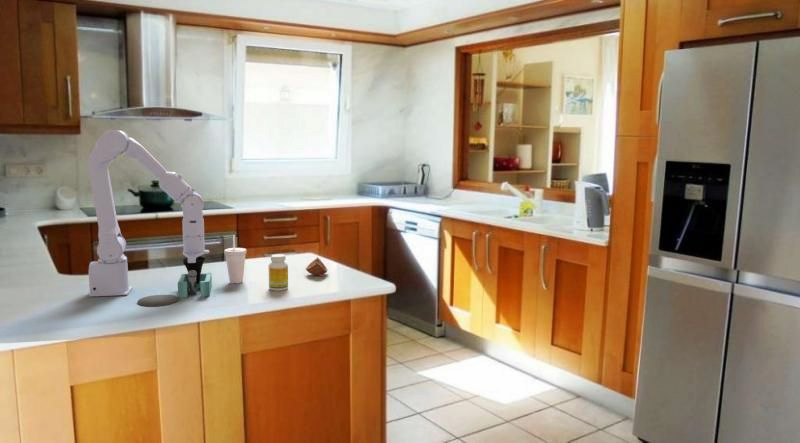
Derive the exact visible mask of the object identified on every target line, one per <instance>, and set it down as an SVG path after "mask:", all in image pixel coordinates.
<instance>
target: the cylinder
mask: <svg viewBox="0 0 800 443" xmlns="http://www.w3.org/2000/svg"><path fill="white" fill-rule="evenodd" d="M187 274H188V278H189V289H188V294H189V295H191V296H194V295H195V296H196V295H197V293H198V292H197V289H198V288H197V285H196V276H197V272H196V271H195V270H190V271H189V272H188V271H187Z"/></svg>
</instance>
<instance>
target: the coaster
mask: <svg viewBox="0 0 800 443" xmlns="http://www.w3.org/2000/svg"><path fill="white" fill-rule="evenodd" d="M179 300H180V299H179V298H178V296H176V295H173V294H154V295H149V296H145V297H141V298H139V299H138V300H137V305H139V306H141V307H163V306H168V305H172V304H175V303H177V302H179Z"/></svg>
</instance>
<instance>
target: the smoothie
mask: <svg viewBox="0 0 800 443" xmlns="http://www.w3.org/2000/svg"><path fill="white" fill-rule="evenodd" d="M223 251H224V255H225V260H226V268H227V272H228V279H229V280H228V281H229V283H230V284H234V283H236V284H241V282H242V283H243V282H244V272H245V263H246V255H247V248H244V247H236V235H235V234H232V247H230V248H226V249H224V250H223Z"/></svg>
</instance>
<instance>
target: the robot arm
mask: <svg viewBox="0 0 800 443" xmlns="http://www.w3.org/2000/svg"><path fill="white" fill-rule="evenodd" d="M122 154H124V155H123V156H124V157H128V158H131V159H135V160H136V161H137V162H139V163H140V164H141V165H142V166H143V167H144V168H145V169H147V170H148V172H150V173H151V174H152V175H154V176H155V178H157V179H158V183H159V184H158V186H159V188H160V189H161V190H162V191H164V193H166V194H167V195H168V196H169V197H170V198H171V199H172V200H174V202H175V203H179V204H180V208H181V210H182V217H183V218H182V219H181V221H182V243H183V244H182V245H183V249H182V250H183V251H182V255H183V256H185V258H183V259H182V263H183V265H184V266H185V268H186V271H187V273H188V272H189V271H190V270H195V271H196V272H197V276H196V284H199V281H200V273H202V268H203V264H204V262H205V260H206V255H205V254H210V250H209V249H206V246H205V245H206V242H205V220H204V219H205V218H204V212H203V210H204V206H205V204H204V199H203V197H202V196H201V194H200V192H198V191H196V188H195V187H194V186H193V187H191V186H190V185H189V184H188V183H187V182H186V181H185V180H184V179H183V175H182V174H181V173H177V172H176V171H168V170H167V169H166V168H165V167H164V166H163V165H162V164H161V163H160V162H159V161H158V160H157V159H156V158H155V157H154V156H153V155H152V154H151V153H150V152H149V151H148V150H147V149H146V148H145V147H144V146H143V145H142V144H140V143H139V142H138V141H137V140H135V138H134V137H130V136H129V134H128V133H127V132H126V131H124V130H121V129H110V130H107V131H105V132H104V133H103V134H102V135H100V136H99V138H97V139H96V142H95V144H94V146H93V148H92V151H91V152H90V155H89V156H88V158H87V169H88V175H89V179H90V180H89V181H90V186H91V192H92V198H93V202H94V208H95V214H96V220H97V225H98V234H97V236H98V244H97V247H96V254H97V257H98V259H97V261H90V262H89V265H88V286H89V294H88V296H89V297H110V296H127V295H128V294H129V293H130V292H131V290H132V289H133V286H131V285H129V269H128V268H129V267H128V266H129V265H128V257H127V256H126V254H124V252H125V251H126V249H127V241H126V239H125V237H124V236H123V235H122V233H121V229H120V226H119V222H118V216H117V212H116V206H115V199H114V193H113V188H112V182H111V177H110V175H111V174H110V170H109V166H110V165H111V164H112V163H113V161H114V160H115V159H116V158H117V157H118V156H120V155H122Z"/></svg>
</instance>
